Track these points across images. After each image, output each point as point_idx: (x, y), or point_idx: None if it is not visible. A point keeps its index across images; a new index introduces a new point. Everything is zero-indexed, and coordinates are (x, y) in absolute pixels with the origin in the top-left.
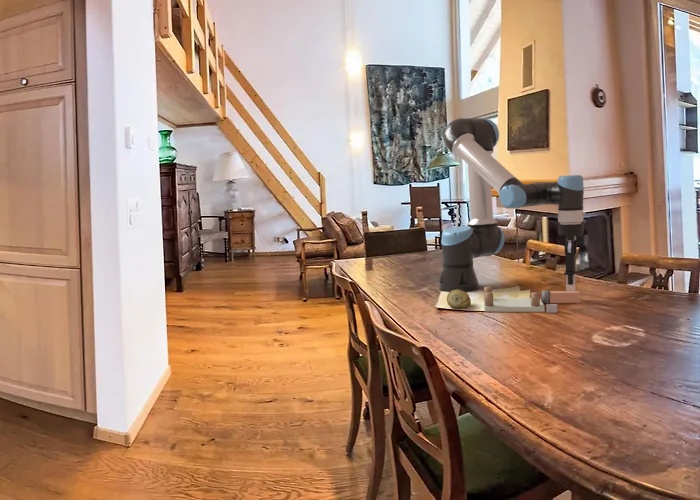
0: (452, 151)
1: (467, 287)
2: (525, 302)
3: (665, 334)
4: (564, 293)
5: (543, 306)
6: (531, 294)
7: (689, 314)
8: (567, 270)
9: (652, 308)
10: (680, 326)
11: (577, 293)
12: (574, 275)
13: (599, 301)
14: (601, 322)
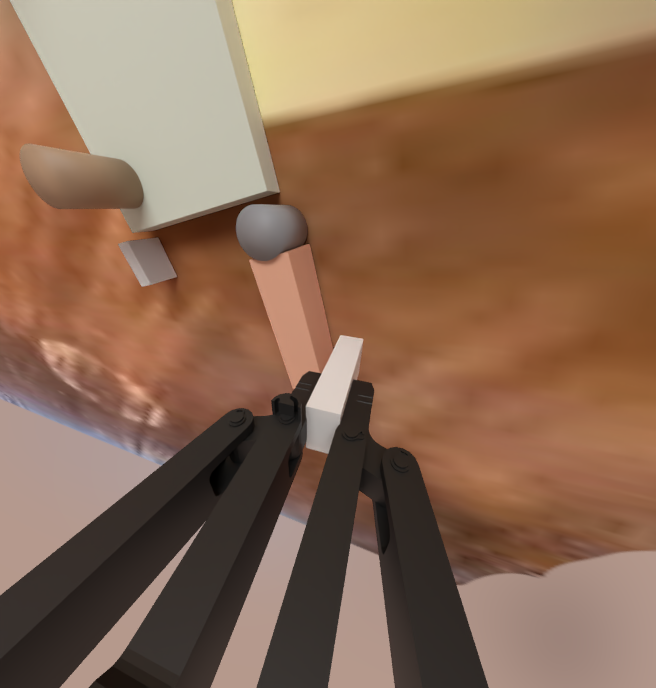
0: None
1: None
2: (141, 109)
3: (152, 443)
4: (274, 330)
5: (133, 227)
6: (28, 152)
7: None
8: (210, 438)
9: (305, 487)
10: None
11: (291, 379)
12: (306, 442)
13: None
14: (153, 376)
